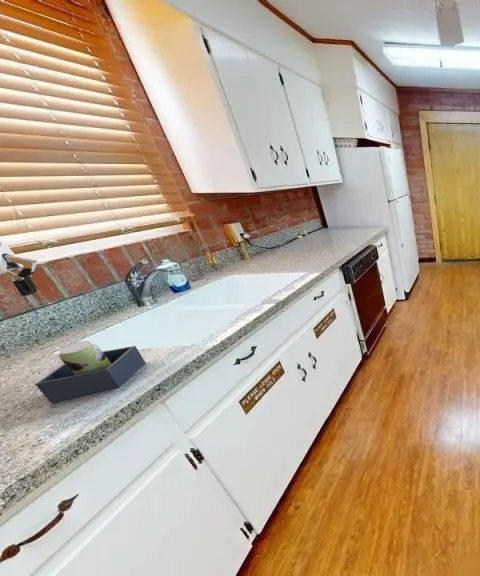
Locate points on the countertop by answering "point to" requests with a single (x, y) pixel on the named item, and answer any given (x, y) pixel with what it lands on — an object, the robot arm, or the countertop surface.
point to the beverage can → (84, 358)
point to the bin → (92, 377)
